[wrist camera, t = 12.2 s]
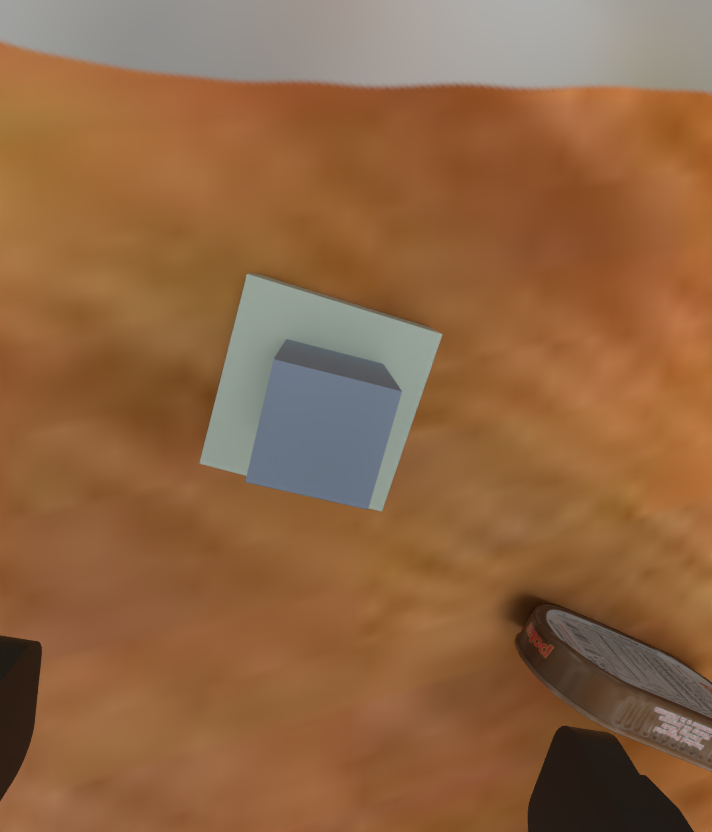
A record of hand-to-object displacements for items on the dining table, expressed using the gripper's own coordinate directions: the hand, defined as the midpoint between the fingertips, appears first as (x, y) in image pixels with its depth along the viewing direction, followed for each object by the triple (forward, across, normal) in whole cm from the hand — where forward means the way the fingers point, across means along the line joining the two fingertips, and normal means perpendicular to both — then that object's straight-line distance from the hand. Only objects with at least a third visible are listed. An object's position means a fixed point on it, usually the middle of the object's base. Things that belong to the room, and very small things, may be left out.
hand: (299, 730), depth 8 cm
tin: (+24, -22, +12) cm, 35 cm away
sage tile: (+24, 0, 0) cm, 25 cm away
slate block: (+20, 0, -1) cm, 21 cm away
